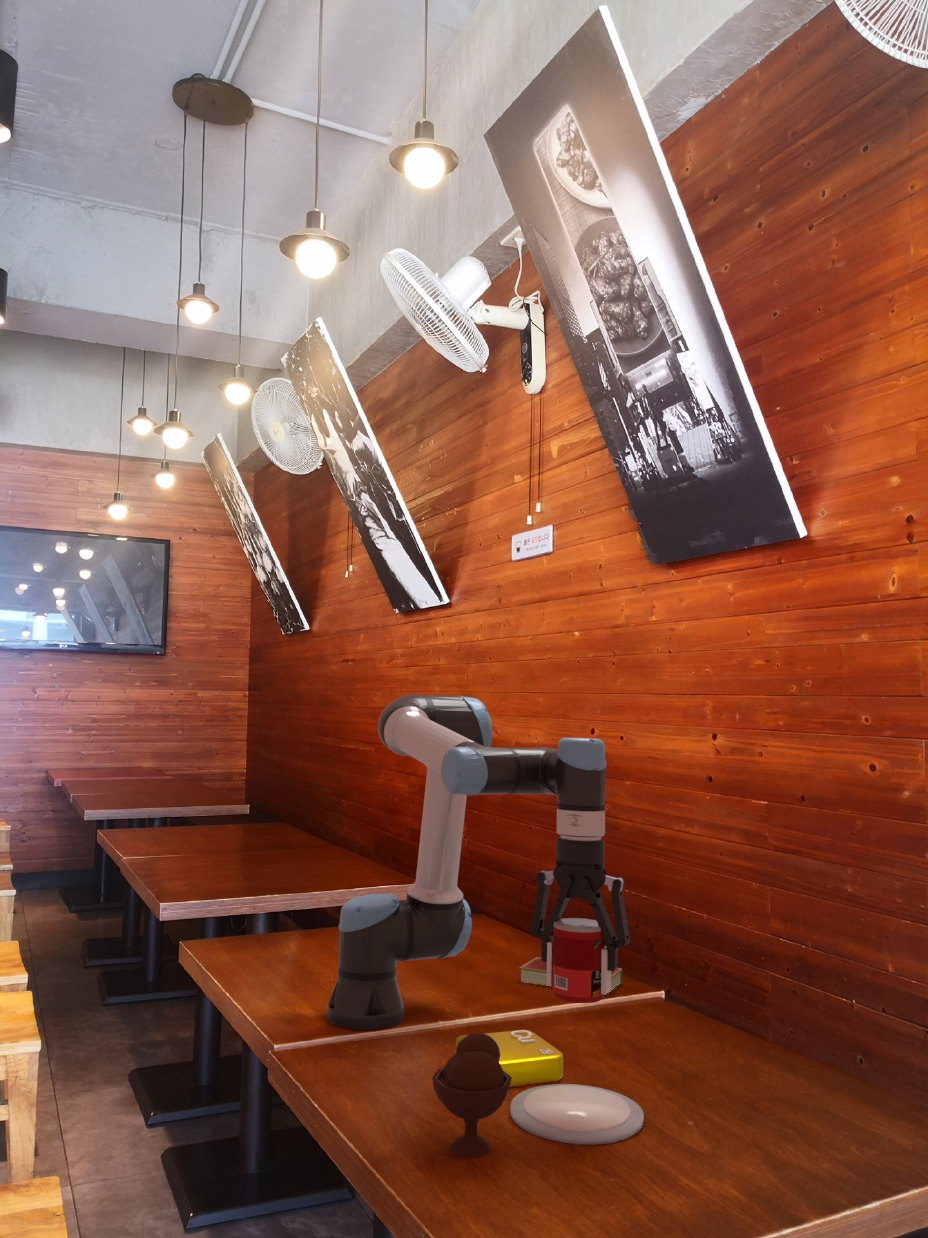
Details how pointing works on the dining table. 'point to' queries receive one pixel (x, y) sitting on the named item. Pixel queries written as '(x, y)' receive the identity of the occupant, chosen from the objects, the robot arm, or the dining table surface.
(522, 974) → the hardcover book
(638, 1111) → the dish
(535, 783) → the robot arm
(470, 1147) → the ice cream bowl
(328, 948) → the dining table surface
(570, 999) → the canned food
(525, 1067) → the element tile
